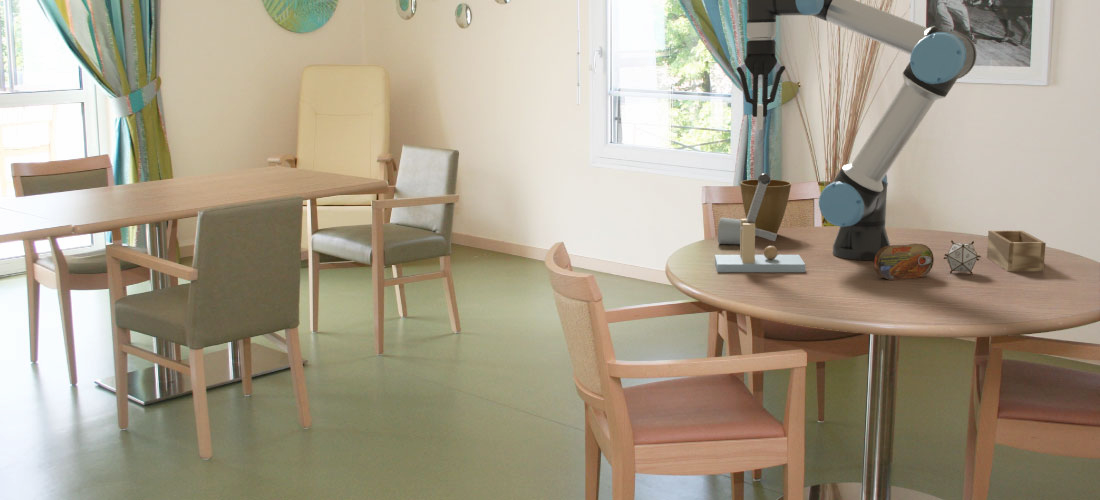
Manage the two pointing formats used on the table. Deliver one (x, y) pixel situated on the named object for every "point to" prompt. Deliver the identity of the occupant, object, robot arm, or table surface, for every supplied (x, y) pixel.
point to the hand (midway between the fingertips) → (759, 129)
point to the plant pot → (767, 203)
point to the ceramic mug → (729, 231)
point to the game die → (962, 257)
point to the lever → (755, 205)
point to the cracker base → (757, 257)
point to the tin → (903, 261)
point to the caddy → (1016, 250)
